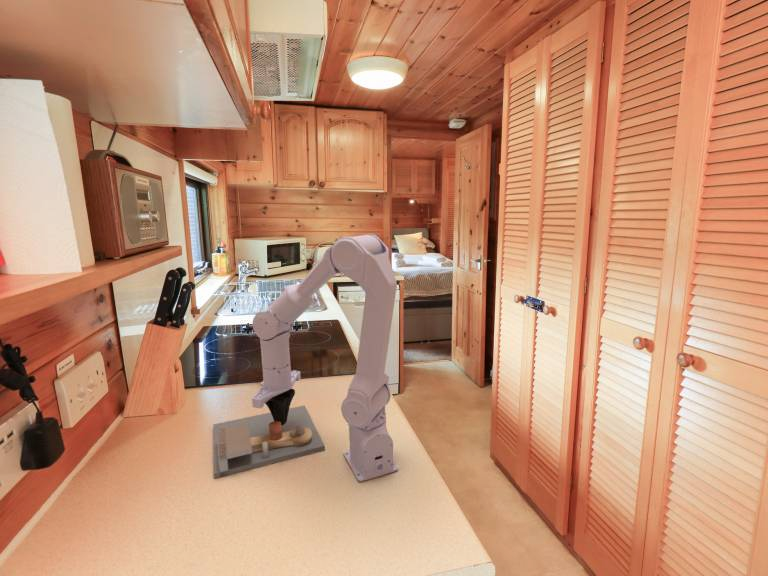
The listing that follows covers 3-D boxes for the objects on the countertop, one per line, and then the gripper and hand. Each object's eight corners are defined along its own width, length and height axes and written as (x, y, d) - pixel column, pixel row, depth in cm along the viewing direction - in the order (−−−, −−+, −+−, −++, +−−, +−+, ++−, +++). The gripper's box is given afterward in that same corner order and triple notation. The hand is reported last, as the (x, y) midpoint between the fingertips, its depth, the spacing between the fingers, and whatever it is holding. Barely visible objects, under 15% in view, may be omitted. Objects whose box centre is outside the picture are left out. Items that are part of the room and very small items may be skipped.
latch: (310, 431, 86) (309, 413, 85) (313, 443, 82) (312, 423, 81) (236, 444, 82) (234, 424, 81) (234, 457, 77) (232, 436, 76)
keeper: (253, 468, 76) (251, 448, 75) (220, 477, 73) (218, 456, 73) (249, 441, 85) (247, 423, 84) (219, 448, 82) (217, 429, 82)
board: (324, 450, 81) (323, 432, 80) (214, 478, 73) (212, 459, 72) (304, 409, 98) (303, 394, 98) (213, 428, 90) (211, 412, 89)
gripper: (280, 350, 91) (284, 405, 93) (237, 375, 77) (243, 437, 80) (307, 354, 88) (310, 409, 91) (267, 379, 75) (272, 444, 78)
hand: (280, 423), depth 85 cm, fingers closed
